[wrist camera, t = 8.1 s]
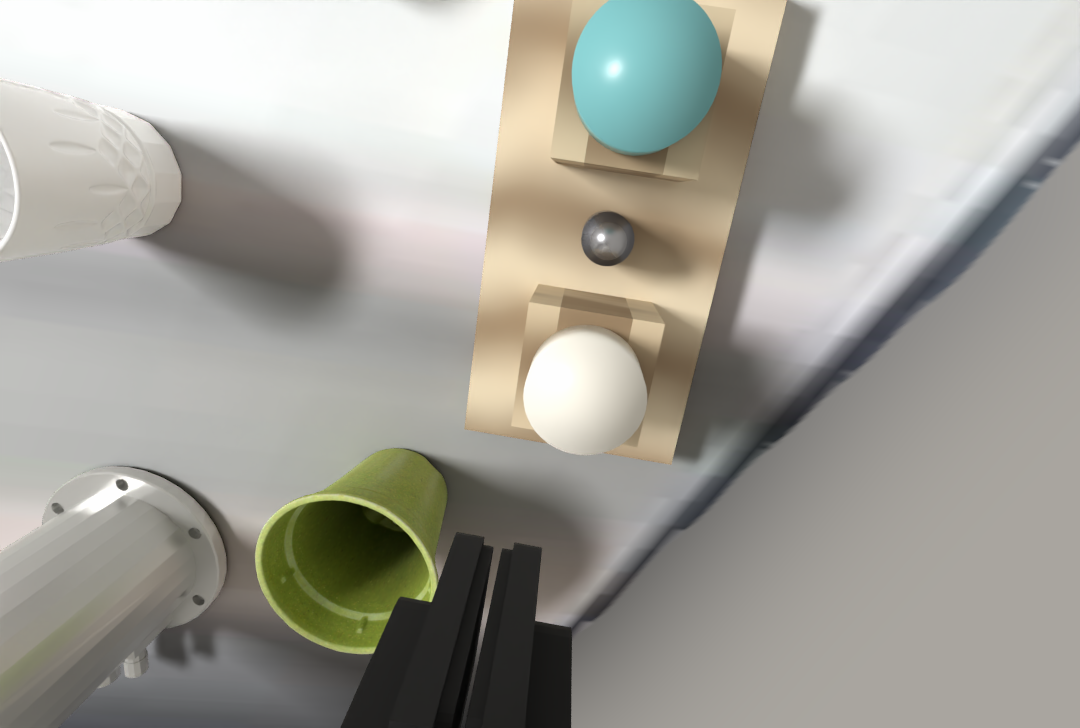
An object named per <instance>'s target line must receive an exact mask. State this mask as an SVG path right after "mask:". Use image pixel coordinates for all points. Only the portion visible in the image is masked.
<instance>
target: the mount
mask: <svg viewBox="0 0 1080 728" xmlns="http://www.w3.org/2000/svg"><path fill="white" fill-rule="evenodd" d="M608 1H609V0H514V6H513V15H512V23H511V32H510V40H509V49H508V58H507V66H506V75H505V84H504V92H503V101H502V110H501V118H500V127H499V136H498V144H497V153H496V161H495V170H494V179H493V187H492V196H491V205H490V213H489V222H488V231H487V239H486V248H485V257H484V265H483V274H482V282H481V291H480V300H479V308H478V317H477V326H476V334H475V343H474V352H473V360H472V369H471V378H470V386H469V395H468V403H467V412H466V421H465V429H467V430H472V431H478V432H484V433H490V434H496V435H502V436H507V437H513V438H519V439H525V440H531V441H536V442H542V443H547V442H546V441H544V440H543V439H542V438H541V437H540V436H539V435H538V434H537V433H536V432H535V430H534V429H533V427H532V426H531V424H530V422H529V420H528V418H527V415H526V412H525V408H524V400H523V393H524V386H525V382H526V379H527V375H528V372H529V369H530V366H531V363H532V360H533V358H534V356H535V354H536V352H537V350H538V349H539V347H540V346H541V345H542V344H543V343H544V342H545V341H546V340H547V339H548V338H549V337H550V336H552V335H553V334H555V333H556V332H558V331H560V330H562V329H565V328H568V327H571V326H577V325H594V326H599V327H603V328H605V329H608V330H610V331H612V332H614V333H616V334H617V335H619V336H620V337H622V338H623V339H624V340H625V341H626V342H627V343H628V344H629V345H630V347H631V348H632V349H633V351H634V353H635V354H636V356H637V359H638V361H639V364H640V368H641V371H642V374H643V377H644V381H645V384H646V389H647V406H646V411H645V415H644V418H643V420H642V422H641V424H640V426H639V427H638V429H637V430H636V432H635V433H634V434H633V435H632V436H631V437H630V438H629V439H628V440H627V441H626V442H624V443H623V444H621V445H620V446H618V447H616V448H614V449H613V450H610V451H607V452H604V453H606V454H612V455H618V456H624V457H630V458H635V459H641V460H647V461H653V462H659V463H665V464H670V465H671V463H672V459H673V455H674V451H675V447H676V443H677V439H678V435H679V431H680V427H681V423H682V419H683V415H684V411H685V407H686V403H687V399H688V395H689V391H690V387H691V383H692V379H693V375H694V371H695V367H696V363H697V359H698V355H699V351H700V347H701V343H702V339H703V335H704V331H705V327H706V323H707V319H708V315H709V311H710V307H711V303H712V299H713V295H714V291H715V287H716V283H717V279H718V275H719V271H720V267H721V263H722V259H723V255H724V251H725V247H726V243H727V239H728V235H729V231H730V227H731V223H732V219H733V215H734V211H735V207H736V203H737V199H738V195H739V191H740V187H741V183H742V179H743V175H744V171H745V167H746V163H747V159H748V155H749V151H750V147H751V143H752V139H753V135H754V131H755V127H756V123H757V119H758V115H759V111H760V107H761V103H762V99H763V95H764V91H765V87H766V83H767V79H768V75H769V71H770V67H771V63H772V59H773V55H774V51H775V47H776V43H777V39H778V35H779V31H780V27H781V23H782V19H783V15H784V11H785V7H786V3H787V0H694V1H695V2H696V3H697V4H698V5H699V6H700V7H701V8H702V9H703V10H704V11H705V12H706V14H707V15H708V17H709V18H710V20H711V21H712V23H713V25H714V27H715V29H716V32H717V35H718V38H719V42H720V47H721V54H722V72H721V78H720V84H719V87H718V91H717V94H716V96H715V99H714V101H713V104H712V105H711V107H710V109H709V111H708V112H707V114H706V115H705V117H704V118H703V119H702V121H701V122H700V123H699V124H698V125H697V126H696V127H695V128H694V129H693V130H692V131H691V132H690V133H689V134H688V135H686V136H685V137H683V138H682V139H680V140H679V141H677V142H676V143H674V144H672V145H670V146H668V147H666V148H664V149H662V150H660V151H658V152H655V153H652V154H647V155H639V156H632V155H624V154H619V153H616V152H614V151H611V150H609V149H607V148H605V147H604V146H602V145H601V144H600V143H598V142H597V141H596V140H595V139H594V138H593V137H592V136H591V135H590V134H589V133H588V131H587V130H586V129H585V127H584V125H583V124H582V122H581V120H580V118H579V115H578V113H577V109H576V106H575V100H574V93H573V86H572V63H573V57H574V52H575V49H576V46H577V43H578V40H579V38H580V35H581V33H582V31H583V29H584V28H585V26H586V24H587V23H588V21H589V20H590V19H591V17H592V16H593V15H594V14H595V12H596V11H597V10H598V9H599V8H601V7H602V6H603V5H604V4H605V3H606V2H608ZM603 210H609V211H614V212H616V213H618V214H620V215H621V216H623V217H624V218H625V219H626V220H627V221H628V222H629V223H630V225H631V226H632V229H633V232H634V246H633V249H632V251H631V253H630V254H629V256H628V257H627V258H626V259H625V260H624V261H622V262H621V263H619V264H617V265H614V266H601V265H598V264H595V263H593V262H592V261H591V260H590V259H589V258H588V257H587V256H586V255H585V253H584V251H583V248H582V244H581V237H582V230H583V227H584V224H585V222H586V221H587V219H588V218H589V217H590V216H592V215H593V214H595V213H597V212H599V211H603Z"/></svg>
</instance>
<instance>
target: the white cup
mask: <svg viewBox="0 0 1080 728" xmlns="http://www.w3.org/2000/svg"><path fill="white" fill-rule="evenodd" d="M181 177H182V175H181V171H180V169H179V166H178V164H177V161H176V159H175V156H174V154H173V151H172V149H171V146H170V145H169V144H168V143H167V142H166V141H165V139H164V138H163V137H162V136H161V135H160V134H159V133H158V132H157V131H156V130H155V128H154V127H153V126H152V125H151V124H150V123H149V122H147V121H145V120H143V119H141V118H138V117H136V116H134V115H132V114H130V113H128V112H126V111H124V110H121V109H117V108H113V107H108V106H104V105H99V104H95V103H92V102H89V101H86V100H83V99H80V98H77V97H74V96H70V95H67V94H62V93H57V92H53V91H50V90H46V89H43V88H39V87H36V86H32V85H28V84H24V83H19V82H15V81H11V80H7V79H2V78H0V262H6V261H12V260H18V259H25V258H31V257H37V256H43V255H50V254H56V253H62V252H67V251H72V250H77V249H81V248H86V247H93V246H98V245H103V244H107V243H110V242H114V241H117V240H121V239H128V238H135V237H141V236H148V235H151V234H152V233H154V232H156V231H157V230H159V229H161V228H162V227H164V226H166V225H167V224H169V223H170V222H171V220H172V218H173V216H174V214H175V212H176V210H177V208H178V206H179V205H180V203H181Z"/></svg>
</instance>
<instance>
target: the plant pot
mask: <svg viewBox="0 0 1080 728" xmlns="http://www.w3.org/2000/svg"><path fill="white" fill-rule="evenodd" d="M446 504H447V487H446V484H445V481H444V479H443V477H442V475H441V473H439V472H438V471H437V470H436V469H435V468H434V467H433V466H432V465H431V464H430V463H429V462H428V460H427V459H426V458H425V457H423V456H422V455H420V454H418V453H416V452H413V451H410V450H406V449H397V448H394V449H385V450H381V451H379V452H376V453H374V454H373V455H371V456H369V457H368V458H366V459H365V460H364V461H362V462H361V463H360V464H358V465H357V466H356V467H355V468H353V469H352V470H351V471H349V472H348V473H347V474H346V475H344V476H343V477H342V478H340V479H339V480H337V481H336V482H335V483H333V484H332V485H330V486H329V487H327V488H326V489H325V490H323V491H320V492H317V493H315V494H311V495H306V496H303V497H301V498H298V499H296V500H293V501H291V502H290V503H288V504H286V505H285V506H283V507H282V508H281V509H279V510H278V511H277V512H276V513H275V514H274V515H273V516H271V518H270V519H269V520H268V521H267V523H266V524H265V526H264V527H263V529H262V531H261V533H260V535H259V538H258V541H257V545H256V551H255V564H256V572H257V577H258V581H259V584H260V587H261V589H262V591H263V594H264V596H265V597H266V598H267V600H268V602H269V604H270V605H271V607H272V608H273V609H274V611H275V612H276V613H277V614H278V616H279V617H280V618H281V619H283V620H284V622H285V623H286V624H287V625H288V626H289V627H290V628H292V629H293V630H295V631H296V632H297V633H299V634H300V635H302V636H303V637H305V638H307V639H308V640H310V641H312V642H315V643H317V644H319V645H321V646H324V647H327V648H329V649H332V650H335V651H339V652H345V653H353V654H372V653H374V651H375V649H376V647H377V644H378V642H379V640H380V638H381V635H382V633H383V631H384V629H385V626H386V624H387V622H388V620H389V617H390V615H391V613H392V611H393V608H394V606H395V604H396V602H397V600H398V599H399V598H400V597H407V598H412V599H418V600H423V601H428V602H432V599H433V596H434V594H435V591H436V588H437V585H438V574H437V569H436V565H435V554H436V549H437V544H438V539H439V535H440V530H441V526H442V521H443V517H444V513H445V508H446ZM393 521H394V522H395V523H396V524H395V523H394V522H393Z"/></svg>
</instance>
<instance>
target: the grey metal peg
mask: <svg viewBox="0 0 1080 728" xmlns="http://www.w3.org/2000/svg"><path fill="white" fill-rule="evenodd" d="M581 244H582V248H583V251H584V253H585V255H586V256H587V257H588V258H589V259H590V260H591V261H592V262H593V263H595V264H598V265H601V266H614V265H617V264H619V263H621V262H622V261H624V260H625V259H626V258H627V257H628V256H629V254H630V253H631V251H632V249H633V246H634V232H633V229H632V226H631V225H630V223H629V222H628V221H627V220H626V219H625V218H624V217H623V216H621V215H620V214H618V213H616V212H614V211H609V210H603V211H599V212H597V213H595V214H593V215H592V216H590V217H589V218H588V219H587V221H586V222H585V224H584V227H583V230H582V237H581Z"/></svg>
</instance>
